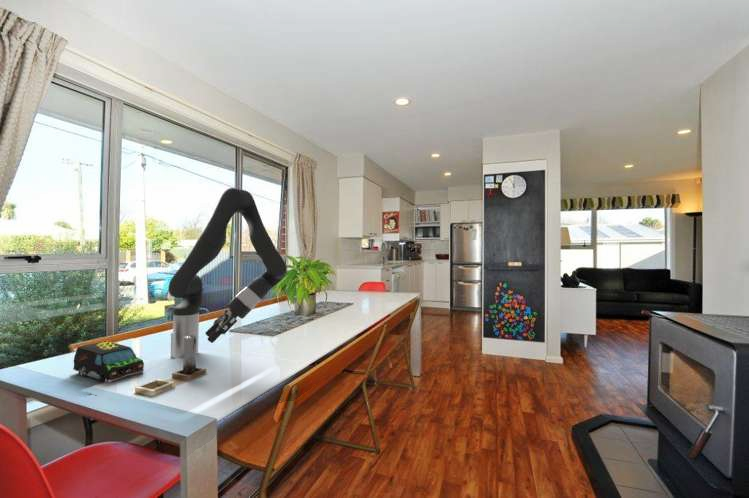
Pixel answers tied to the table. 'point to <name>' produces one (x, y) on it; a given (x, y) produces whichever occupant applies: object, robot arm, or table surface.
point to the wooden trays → (167, 383)
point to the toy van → (107, 361)
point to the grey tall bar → (189, 354)
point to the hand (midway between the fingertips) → (208, 338)
